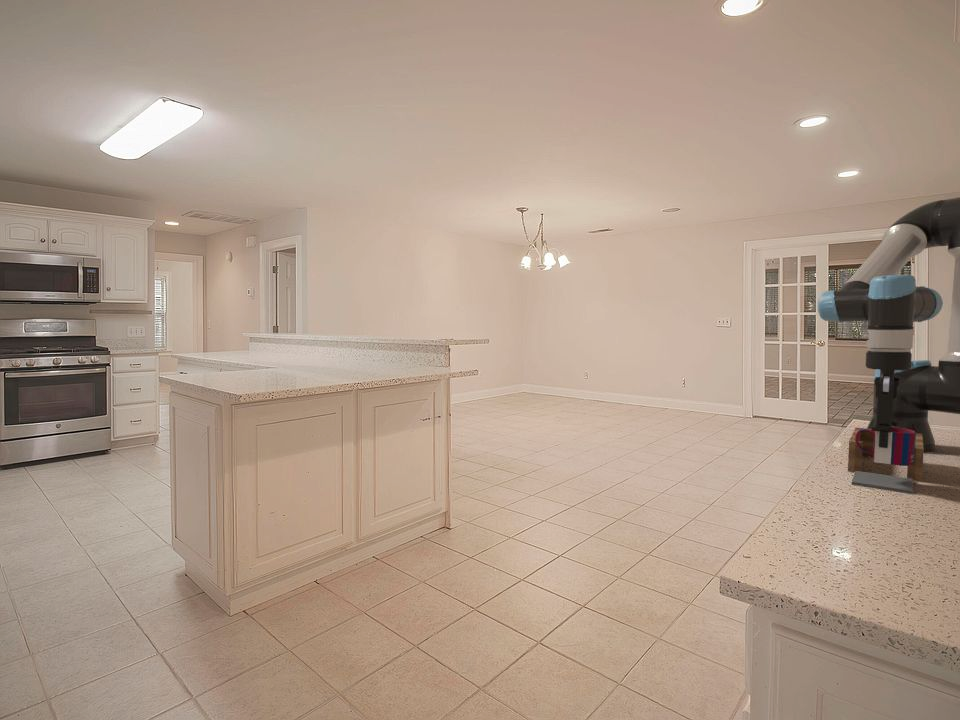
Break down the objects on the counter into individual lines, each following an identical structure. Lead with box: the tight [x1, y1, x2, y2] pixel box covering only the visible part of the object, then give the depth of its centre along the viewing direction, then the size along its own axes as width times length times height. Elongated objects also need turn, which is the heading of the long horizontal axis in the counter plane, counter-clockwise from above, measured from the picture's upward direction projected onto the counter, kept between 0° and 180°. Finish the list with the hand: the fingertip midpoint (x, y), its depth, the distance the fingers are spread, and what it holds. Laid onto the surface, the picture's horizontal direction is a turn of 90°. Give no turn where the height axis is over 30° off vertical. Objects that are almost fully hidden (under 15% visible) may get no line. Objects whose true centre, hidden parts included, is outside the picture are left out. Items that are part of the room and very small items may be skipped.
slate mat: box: [851, 471, 914, 495], centre depth 111 cm, size 10×10×1 cm
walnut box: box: [847, 427, 925, 482], centre depth 123 cm, size 19×13×7 cm
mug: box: [855, 427, 916, 467], centre depth 110 cm, size 7×10×7 cm
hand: (883, 458), depth 111 cm, fingers closed on mug, 7 cm apart
